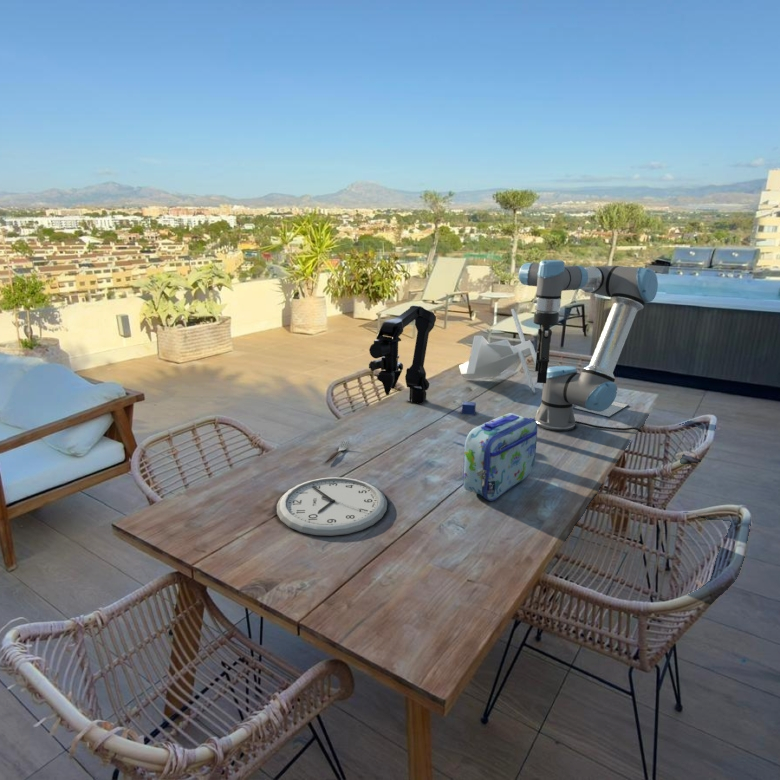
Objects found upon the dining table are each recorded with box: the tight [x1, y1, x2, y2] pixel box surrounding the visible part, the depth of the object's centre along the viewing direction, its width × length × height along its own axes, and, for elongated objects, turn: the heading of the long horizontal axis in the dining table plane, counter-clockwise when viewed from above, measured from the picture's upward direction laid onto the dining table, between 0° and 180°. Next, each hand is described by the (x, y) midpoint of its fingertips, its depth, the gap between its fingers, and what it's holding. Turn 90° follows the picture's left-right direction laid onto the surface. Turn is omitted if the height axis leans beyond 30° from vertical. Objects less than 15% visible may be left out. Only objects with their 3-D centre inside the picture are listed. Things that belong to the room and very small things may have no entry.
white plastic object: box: [458, 308, 543, 394], centre depth 254 cm, size 37×45×31 cm
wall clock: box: [276, 476, 388, 537], centre depth 142 cm, size 30×2×30 cm
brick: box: [461, 400, 477, 416], centre depth 216 cm, size 4×5×4 cm
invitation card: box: [573, 400, 629, 418], centre depth 226 cm, size 21×1×15 cm
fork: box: [325, 439, 350, 464], centre depth 174 cm, size 3×16×2 cm, turn 160°
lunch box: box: [462, 412, 538, 502], centre depth 152 cm, size 26×11×21 cm, turn 135°
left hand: (390, 391), depth 210 cm, fingers open, 9 cm apart
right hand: (540, 376), depth 169 cm, fingers open, 13 cm apart
